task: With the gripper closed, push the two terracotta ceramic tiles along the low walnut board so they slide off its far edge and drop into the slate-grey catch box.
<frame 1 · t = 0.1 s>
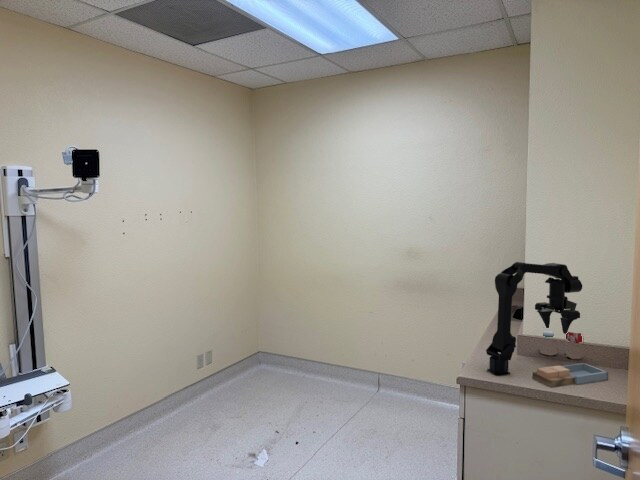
hand: (556, 330, 184), 15 cm above the worktop, fingers open, 9 cm apart
tile 1: (547, 375, 166), point 2 cm above the worktop, touching bench board
tile 2: (559, 374, 168), point 2 cm above the worktop, touching bench board
pill bottle: (548, 354, 198), on the worktop
catch box: (580, 377, 171), on the worktop
soda can: (573, 358, 192), on the worktop
bench board: (553, 381, 167), on the worktop
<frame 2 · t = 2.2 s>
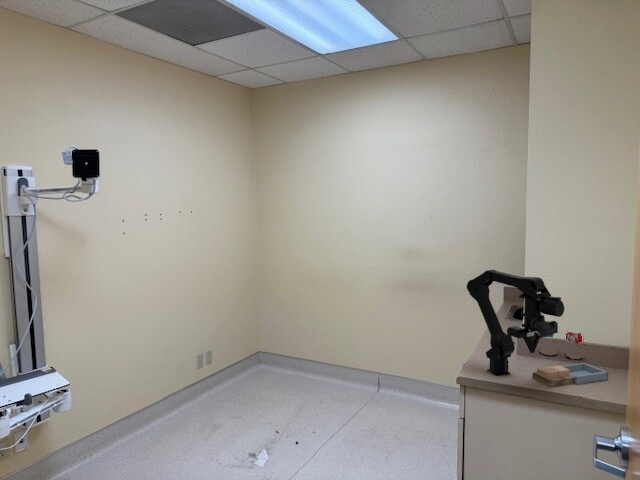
hand: (531, 352, 164), 12 cm above the worktop, fingers closed
nothing on the worktop moved.
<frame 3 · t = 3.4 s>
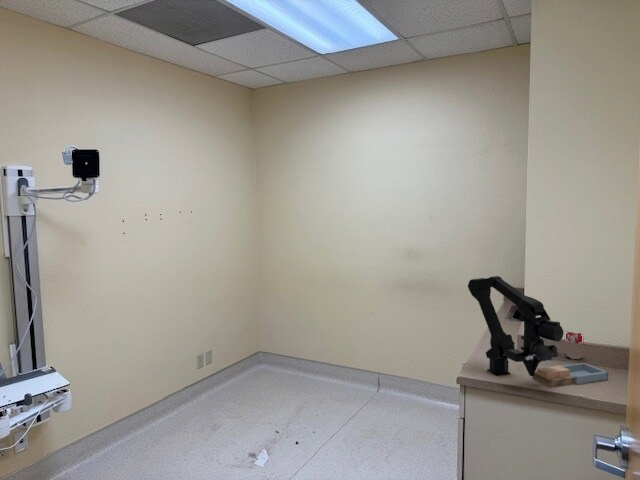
hand: (531, 375, 164), 3 cm above the worktop, fingers closed
nothing on the worktop moved.
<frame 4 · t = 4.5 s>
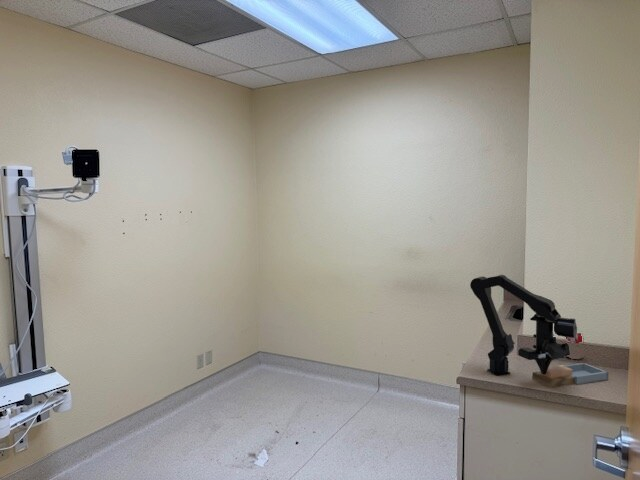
hand: (543, 374, 166), 3 cm above the worktop, fingers closed
tile 1: (550, 375, 167), point 3 cm above the worktop, touching gripper
tile 2: (561, 373, 168), point 3 cm above the worktop
everything else where it was.
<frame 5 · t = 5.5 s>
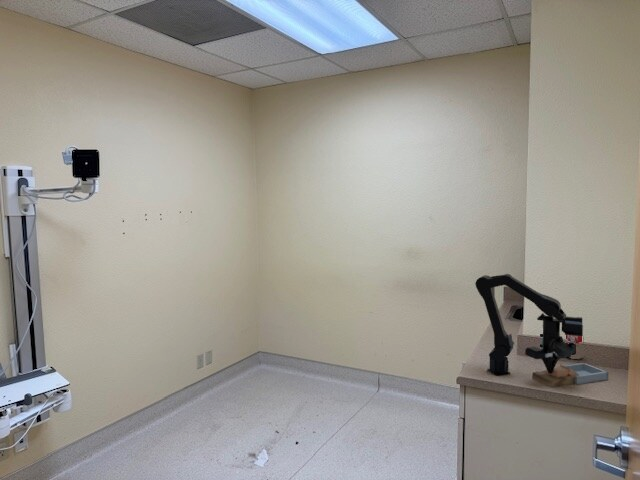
hand: (550, 373, 166), 3 cm above the worktop, fingers closed
tile 1: (557, 374, 168), point 2 cm above the worktop, touching bench board, tile 2, gripper
tile 2: (567, 374, 169), point 2 cm above the worktop, tilted 35°, touching catch box, tile 1
everything else where it was.
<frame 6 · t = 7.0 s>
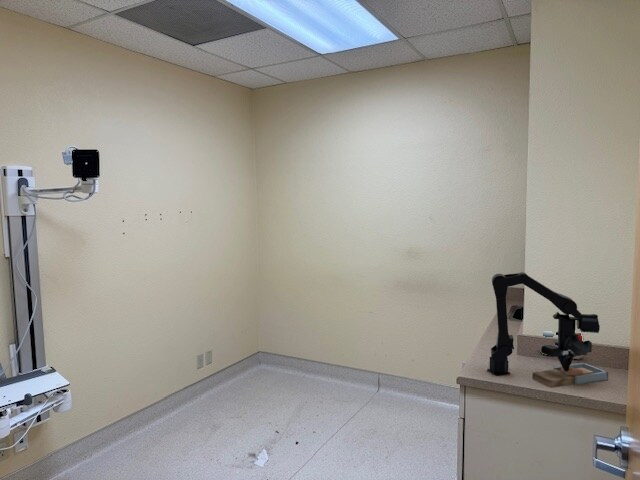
hand: (565, 370, 168), 3 cm above the worktop, fingers closed
tile 1: (570, 373, 170), point 2 cm above the worktop, tilted 16°, touching tile 2, gripper
tile 2: (582, 375, 171), resting on catch box, touching tile 1
everything else where it was.
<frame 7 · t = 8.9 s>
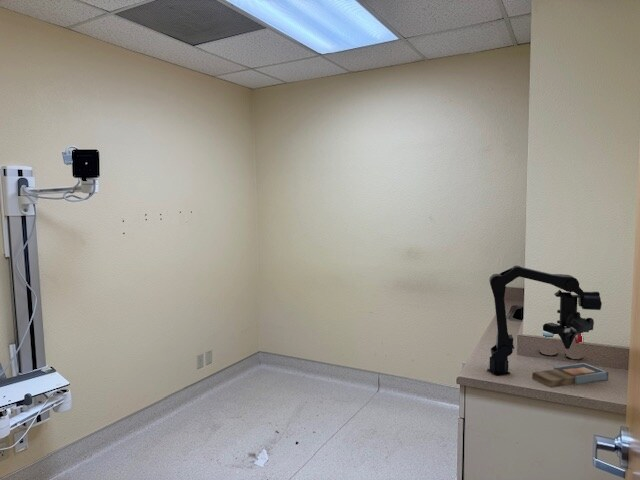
hand: (567, 348, 168), 12 cm above the worktop, fingers closed
tile 1: (572, 376, 170), resting on catch box
tile 2: (584, 375, 171), resting on catch box
everything else where it was.
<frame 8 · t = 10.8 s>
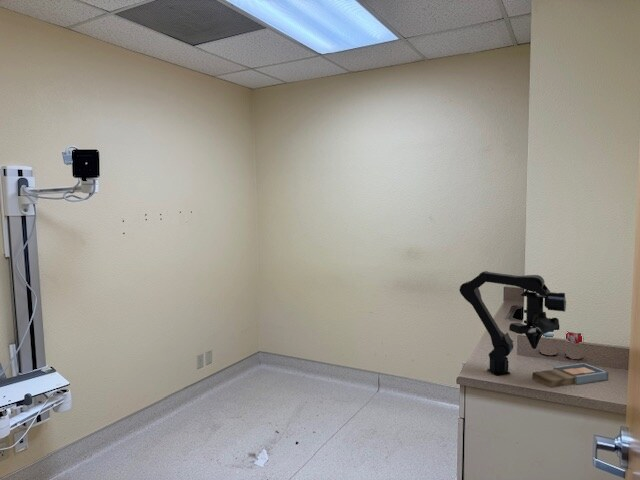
hand: (534, 348, 169), 12 cm above the worktop, fingers closed
nothing on the worktop moved.
at the end: tile 1 inside the target area (3.3 cm from its centre), resting on catch box; tile 2 inside the target area (1.9 cm from its centre), resting on catch box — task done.
